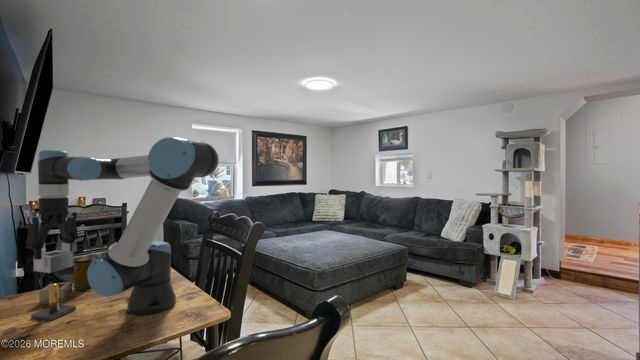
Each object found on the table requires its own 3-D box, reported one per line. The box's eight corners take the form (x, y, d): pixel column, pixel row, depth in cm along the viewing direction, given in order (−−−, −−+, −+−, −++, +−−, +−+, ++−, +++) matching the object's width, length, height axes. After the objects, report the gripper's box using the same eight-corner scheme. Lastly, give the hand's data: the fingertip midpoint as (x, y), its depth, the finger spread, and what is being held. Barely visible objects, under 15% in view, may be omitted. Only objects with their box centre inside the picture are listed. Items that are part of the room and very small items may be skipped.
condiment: (79, 285, 124) (79, 257, 124) (101, 284, 126) (101, 256, 125) (67, 292, 117) (67, 262, 117) (91, 291, 118) (91, 261, 118)
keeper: (75, 309, 103) (75, 280, 102) (50, 320, 95) (50, 289, 95) (57, 307, 104) (57, 278, 104) (30, 318, 97) (30, 287, 96)
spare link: (72, 294, 115) (72, 281, 115) (63, 302, 108) (63, 288, 108) (50, 296, 113) (50, 283, 113) (39, 304, 106) (39, 290, 106)
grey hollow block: (72, 266, 102) (72, 251, 102) (50, 273, 95) (50, 257, 95) (56, 264, 104) (56, 250, 103) (33, 270, 97) (33, 255, 97)
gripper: (75, 194, 109) (74, 256, 110) (8, 198, 90) (8, 273, 90) (91, 195, 108) (91, 257, 108) (27, 199, 88) (27, 276, 89)
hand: (53, 264), depth 99 cm, fingers closed on grey hollow block, 7 cm apart
